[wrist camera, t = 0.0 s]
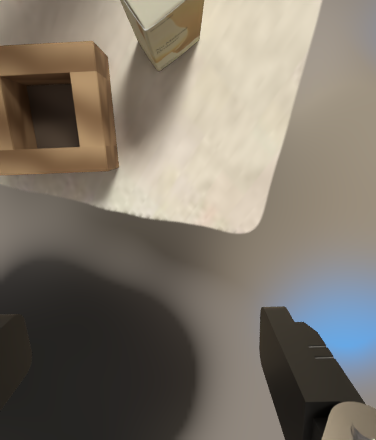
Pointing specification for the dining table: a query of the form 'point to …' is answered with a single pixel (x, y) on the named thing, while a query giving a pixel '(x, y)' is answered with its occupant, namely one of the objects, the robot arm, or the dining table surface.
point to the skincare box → (165, 27)
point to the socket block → (56, 109)
